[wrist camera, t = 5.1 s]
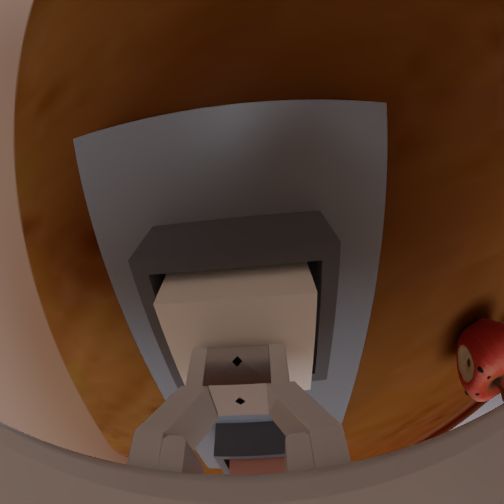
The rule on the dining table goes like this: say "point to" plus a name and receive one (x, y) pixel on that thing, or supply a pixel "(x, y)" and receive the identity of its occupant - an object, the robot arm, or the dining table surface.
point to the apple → (482, 359)
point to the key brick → (257, 466)
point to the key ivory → (241, 313)
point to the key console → (245, 227)
